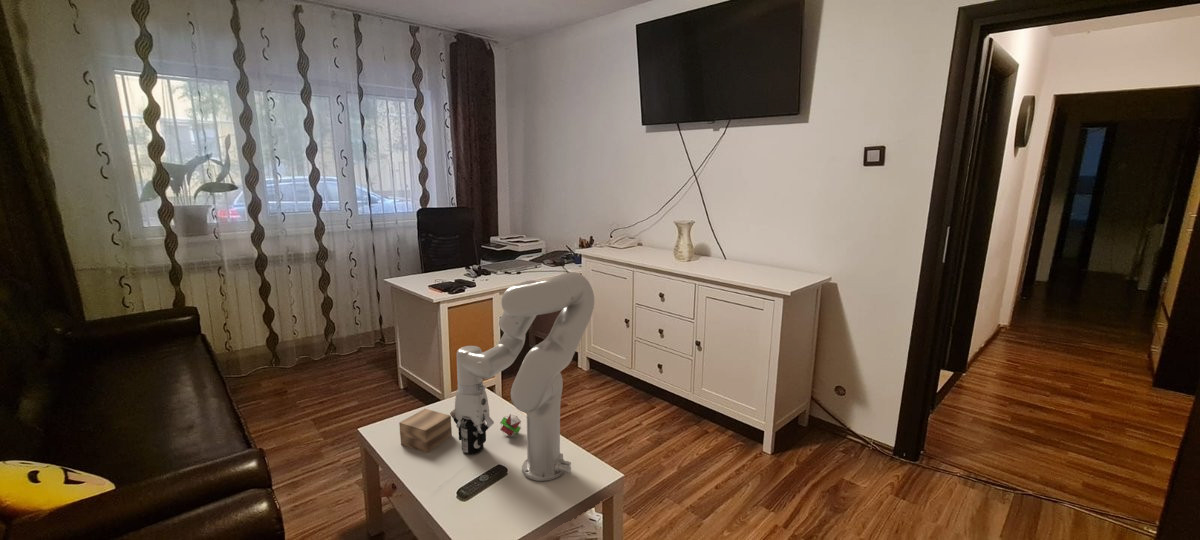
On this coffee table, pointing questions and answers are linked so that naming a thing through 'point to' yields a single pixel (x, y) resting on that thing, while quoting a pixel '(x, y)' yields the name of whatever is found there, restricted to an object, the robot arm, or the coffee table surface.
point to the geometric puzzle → (510, 425)
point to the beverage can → (469, 437)
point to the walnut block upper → (425, 425)
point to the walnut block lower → (426, 445)
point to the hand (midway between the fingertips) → (472, 440)
